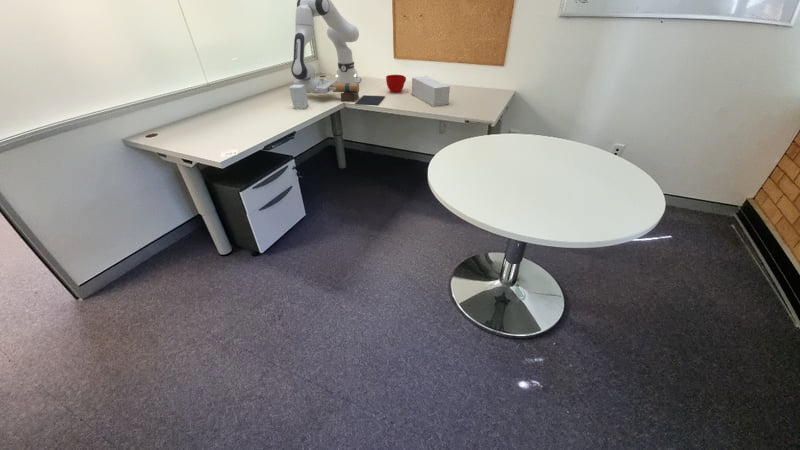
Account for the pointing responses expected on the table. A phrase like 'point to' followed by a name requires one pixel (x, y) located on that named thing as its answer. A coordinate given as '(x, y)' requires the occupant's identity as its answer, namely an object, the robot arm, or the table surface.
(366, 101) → the mat
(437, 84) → the long light grey block
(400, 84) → the ceramic cup
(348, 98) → the cradle
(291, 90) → the white packaging box
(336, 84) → the paper roll
